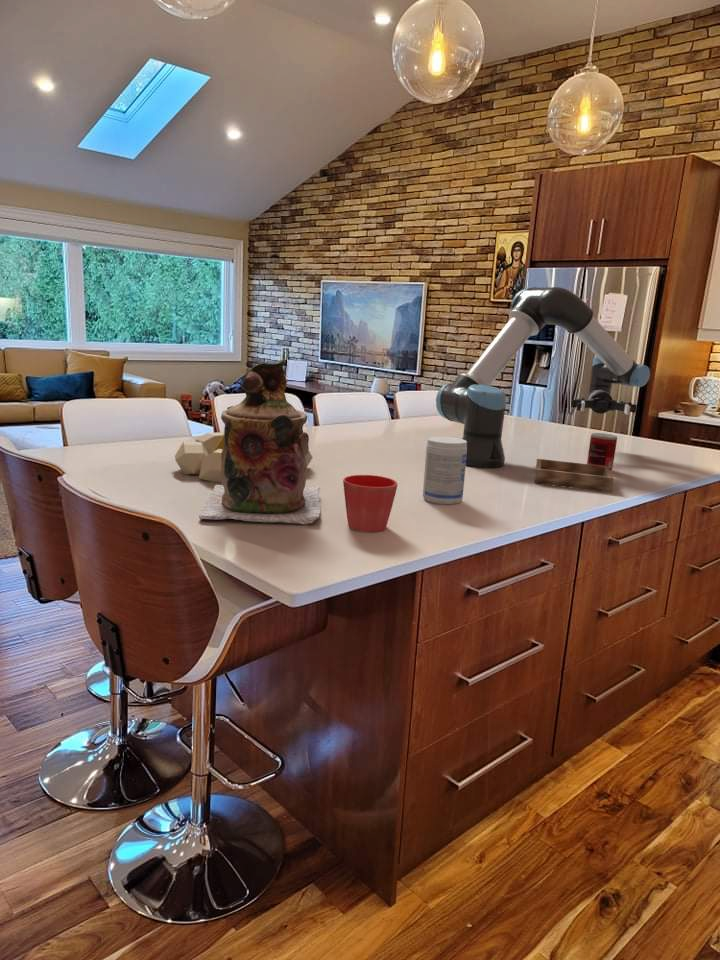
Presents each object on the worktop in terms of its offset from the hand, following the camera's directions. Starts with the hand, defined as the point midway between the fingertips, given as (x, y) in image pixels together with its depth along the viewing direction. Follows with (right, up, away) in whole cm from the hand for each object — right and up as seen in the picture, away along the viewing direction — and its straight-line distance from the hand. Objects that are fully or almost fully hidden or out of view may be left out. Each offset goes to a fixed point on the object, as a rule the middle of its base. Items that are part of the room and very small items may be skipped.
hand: (605, 408), depth 206 cm
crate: (-19, -23, -23) cm, 38 cm away
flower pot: (-77, -32, -75) cm, 112 cm away
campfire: (-109, -20, -33) cm, 116 cm away
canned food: (-4, -20, -5) cm, 21 cm away
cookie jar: (-99, -29, -66) cm, 123 cm away
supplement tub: (-59, -28, -51) cm, 83 cm away
